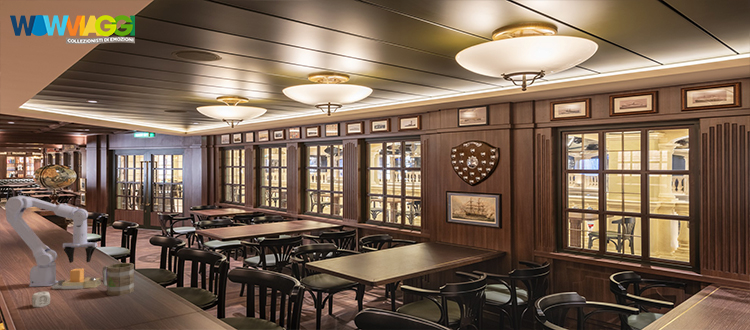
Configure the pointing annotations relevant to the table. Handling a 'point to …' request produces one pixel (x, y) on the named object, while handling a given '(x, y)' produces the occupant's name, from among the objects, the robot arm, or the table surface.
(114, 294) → the mug
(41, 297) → the die
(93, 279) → the square frame connector
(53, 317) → the table surface
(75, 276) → the orange rectangular peg
